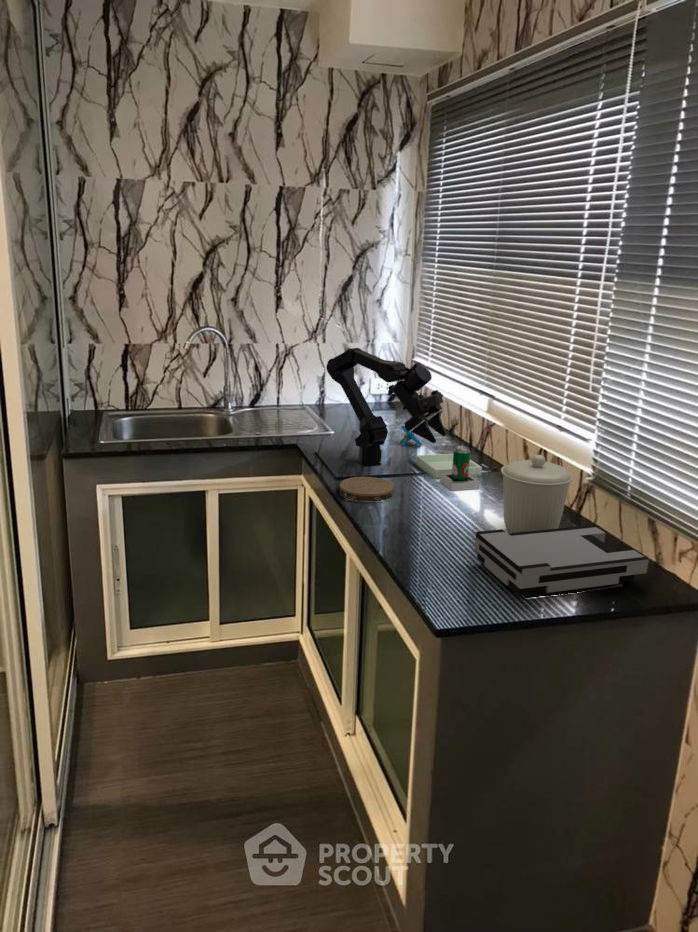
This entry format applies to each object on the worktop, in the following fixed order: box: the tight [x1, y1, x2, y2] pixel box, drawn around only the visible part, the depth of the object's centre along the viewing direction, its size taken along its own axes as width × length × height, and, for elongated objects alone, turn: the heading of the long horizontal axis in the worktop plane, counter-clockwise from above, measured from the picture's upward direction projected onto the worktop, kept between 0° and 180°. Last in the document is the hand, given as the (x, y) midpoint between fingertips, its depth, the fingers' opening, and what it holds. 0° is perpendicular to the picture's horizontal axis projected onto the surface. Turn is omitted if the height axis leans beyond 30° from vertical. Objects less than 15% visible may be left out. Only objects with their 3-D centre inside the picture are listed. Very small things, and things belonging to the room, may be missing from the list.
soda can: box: [451, 445, 471, 482], centre depth 233 cm, size 5×5×12 cm
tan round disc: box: [338, 476, 395, 501], centre depth 224 cm, size 16×16×3 cm
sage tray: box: [415, 453, 483, 480], centre depth 249 cm, size 16×16×3 cm
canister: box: [500, 454, 575, 533], centre depth 197 cm, size 18×18×21 cm
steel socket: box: [439, 473, 480, 492], centre depth 234 cm, size 9×9×2 cm
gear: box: [399, 425, 423, 447], centre depth 275 cm, size 11×6×10 cm
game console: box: [474, 524, 650, 598], centre depth 175 cm, size 21×32×8 cm, turn 108°
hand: (440, 438), depth 235 cm, fingers open, 9 cm apart
